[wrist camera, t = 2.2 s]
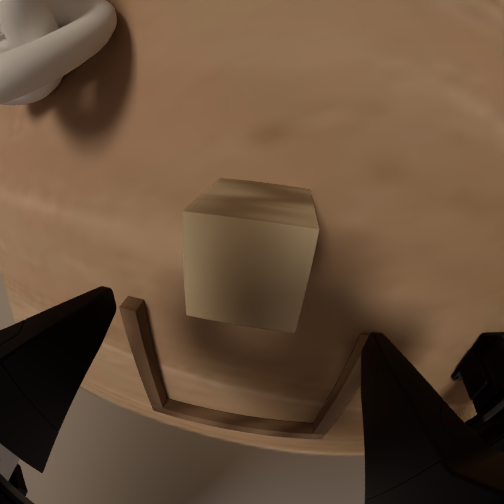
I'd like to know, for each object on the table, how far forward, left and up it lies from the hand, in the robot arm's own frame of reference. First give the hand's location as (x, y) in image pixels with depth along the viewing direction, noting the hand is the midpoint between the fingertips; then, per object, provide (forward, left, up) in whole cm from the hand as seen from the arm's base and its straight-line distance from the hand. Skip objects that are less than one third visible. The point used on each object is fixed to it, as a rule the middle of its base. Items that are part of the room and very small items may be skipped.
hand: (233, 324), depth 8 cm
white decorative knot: (+15, -14, -9) cm, 22 cm away
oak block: (0, 0, -9) cm, 9 cm away
